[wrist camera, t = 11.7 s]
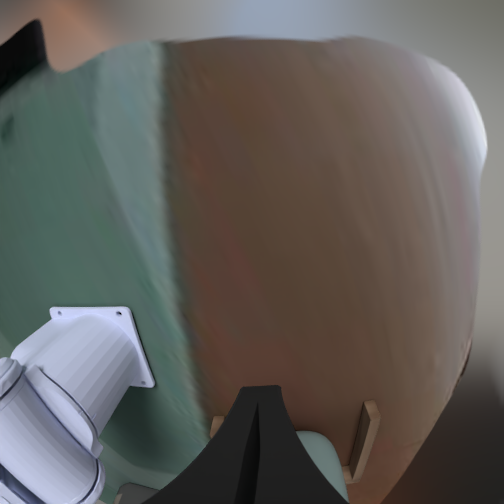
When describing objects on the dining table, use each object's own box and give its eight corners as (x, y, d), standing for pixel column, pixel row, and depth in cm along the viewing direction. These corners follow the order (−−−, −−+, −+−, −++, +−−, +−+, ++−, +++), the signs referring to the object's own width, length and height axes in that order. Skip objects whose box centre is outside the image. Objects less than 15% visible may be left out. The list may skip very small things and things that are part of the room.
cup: (340, 416, 22) (361, 500, 12) (329, 456, 24) (340, 527, 14) (258, 421, 22) (253, 511, 13) (260, 461, 24) (256, 534, 15)
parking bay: (235, 478, 26) (234, 493, 23) (213, 415, 22) (209, 435, 20) (355, 467, 24) (359, 481, 22) (373, 399, 21) (381, 417, 19)
